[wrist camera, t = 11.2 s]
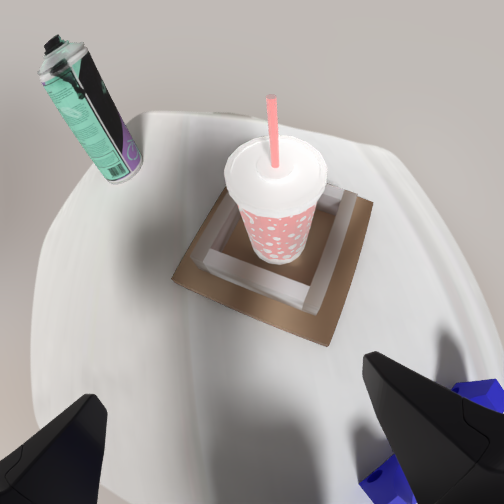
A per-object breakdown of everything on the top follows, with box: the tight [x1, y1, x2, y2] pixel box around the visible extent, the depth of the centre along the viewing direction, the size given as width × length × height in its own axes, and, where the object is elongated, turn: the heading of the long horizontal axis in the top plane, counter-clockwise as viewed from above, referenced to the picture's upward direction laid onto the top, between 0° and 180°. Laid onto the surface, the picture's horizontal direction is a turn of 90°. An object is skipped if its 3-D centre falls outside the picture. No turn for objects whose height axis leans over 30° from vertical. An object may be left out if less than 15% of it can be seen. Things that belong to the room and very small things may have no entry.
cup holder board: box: [171, 184, 373, 347], centre depth 23 cm, size 14×14×4 cm
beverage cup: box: [224, 94, 327, 265], centre depth 18 cm, size 6×6×14 cm
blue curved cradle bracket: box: [359, 379, 504, 504], centre depth 13 cm, size 12×4×6 cm, turn 128°
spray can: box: [38, 35, 143, 184], centre depth 23 cm, size 6×6×20 cm
